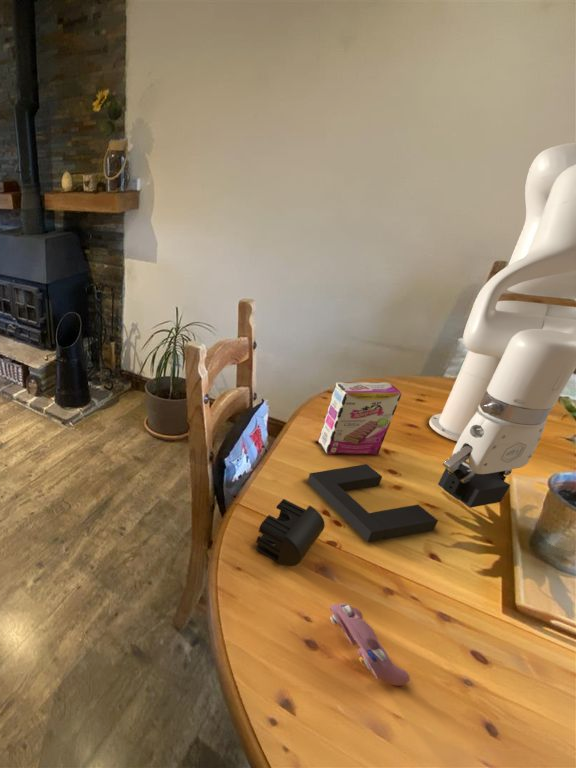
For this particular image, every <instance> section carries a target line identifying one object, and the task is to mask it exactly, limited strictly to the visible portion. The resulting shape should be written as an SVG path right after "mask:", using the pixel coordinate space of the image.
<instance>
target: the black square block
mask: <svg viewBox="0 0 576 768" xmlns="http://www.w3.org/2000/svg"><path fill="white" fill-rule="evenodd" d="M460 470H461V471H462V472H463V473H464V474H465V473H466V472H467V471H468V470H469V469H468V468H467V467H465V466H464V465H463V466H462V467H461V468H460ZM448 476H449V473H448V471H447V469H446V468H444V471H443V473H442V475H441V477H440V479H439V481H438V482H437V485H438V486H439V487H441V488H442V489H443V486H444V484H445V482H446V480H447V478H448ZM468 482H470V483H471V485H470V487H469V489H468V490H467V492H466V494H465V496H464V498H463V499H462V500H459V502H461V503H462V504H464V505H465V506H467V507H468V508H470V509H471V508H477V507H481V506H488V505H492V504H497V503H501V501H502V499H503V498H504V497H505V495H506V493H507V491H508V490H509V488H510V486H511V484H510V483H508V482H506V481H505V480H504V481H503V480H501V479H500V478H498V477H496V476H495V475H493V474H492V473H488V474H477V473H476V474H475V475H474V476H473V477H472V478H471V479H470V480H469V481H468Z"/></svg>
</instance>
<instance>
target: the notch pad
mask: <svg viewBox="0 0 576 768" xmlns="http://www.w3.org/2000/svg"><path fill="white" fill-rule="evenodd" d="M382 478H383V475H381V474H380V473H379V472H377V471H376V470H375V469H374V468H372V467H371V465H368V464H367V463H365V464H364V463H363V464H358V465H352V466H346V467H339V468H333V469H326V470H321V471H315V472H310V473H309V474H308V479H307V484H308V485H309V486H311V488H312V489H313V490H314V491H315V492H316V493H318V495H319V496H320V497H321V498H322V499H323V500H325V502H326V503H327V504H328V505H330V507H331V508H333V510H334V511H336V512H337V513H338V514H339V516H340V517H342V519H344V521H346V522H347V523H348V524H349V525H350V527H352V529H353V530H354V531H356V532H357V533H358V534H359V535H360V536H361V538H363V539H364V540H365V542H367V543H370V542H376V541H382V540H389V539H393V538H399V537H406V536H411V535H416V534H422V533H427V532H432V531H434V530H435V528H436V526H437V523H438V522H439V519H438V518H436V517H435V516H433V515H432V514H431V513H430V512H429V511H427V510H426V509H424V508H423V507H422V505H421V506H420V505H419V504H413V505H406V506H402V507H401V506H400V507H395V508H389V509H384V510H379V511H373V512H369V511H367V509H365V508H364V507H363V506H362V505H361V504H360V503H359V502H357V500H355V499H354V498H353V497H352V496H351V495H350V494H349V493H347V492H349V491H356V490H361V489H366V488H367V489H368V488H373V487H378V486H379V485H380V483H381V480H382Z"/></svg>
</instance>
